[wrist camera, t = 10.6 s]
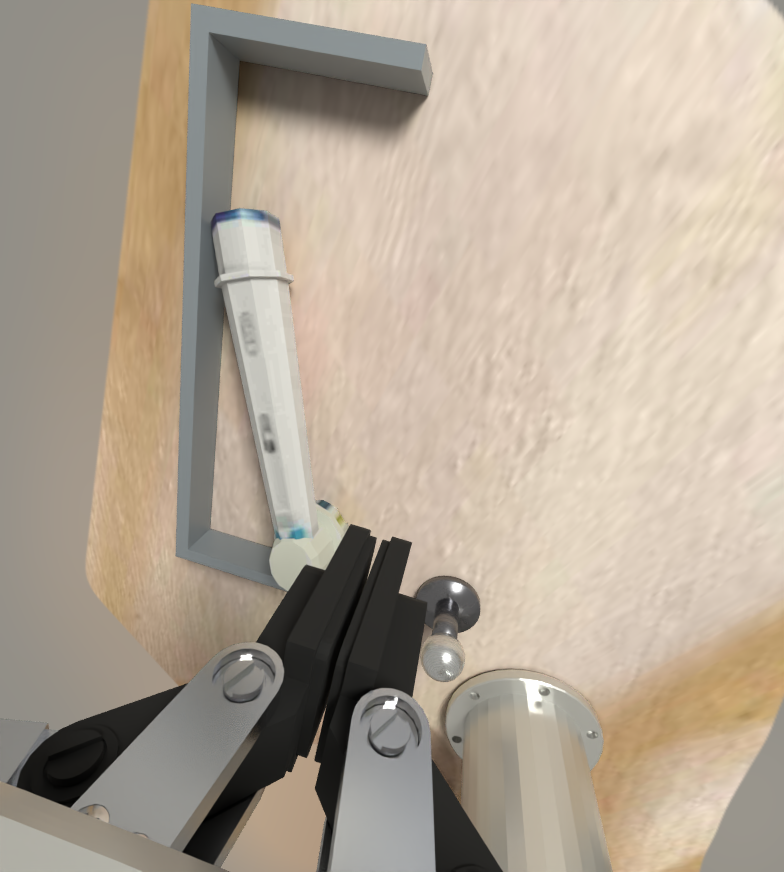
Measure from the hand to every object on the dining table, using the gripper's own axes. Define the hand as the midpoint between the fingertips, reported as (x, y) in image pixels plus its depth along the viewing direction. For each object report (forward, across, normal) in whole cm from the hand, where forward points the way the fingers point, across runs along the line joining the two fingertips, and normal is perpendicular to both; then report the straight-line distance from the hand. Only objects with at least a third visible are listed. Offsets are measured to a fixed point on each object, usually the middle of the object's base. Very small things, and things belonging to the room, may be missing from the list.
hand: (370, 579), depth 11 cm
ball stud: (+19, -5, +16) cm, 25 cm away
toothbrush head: (+19, +10, +4) cm, 22 cm away
